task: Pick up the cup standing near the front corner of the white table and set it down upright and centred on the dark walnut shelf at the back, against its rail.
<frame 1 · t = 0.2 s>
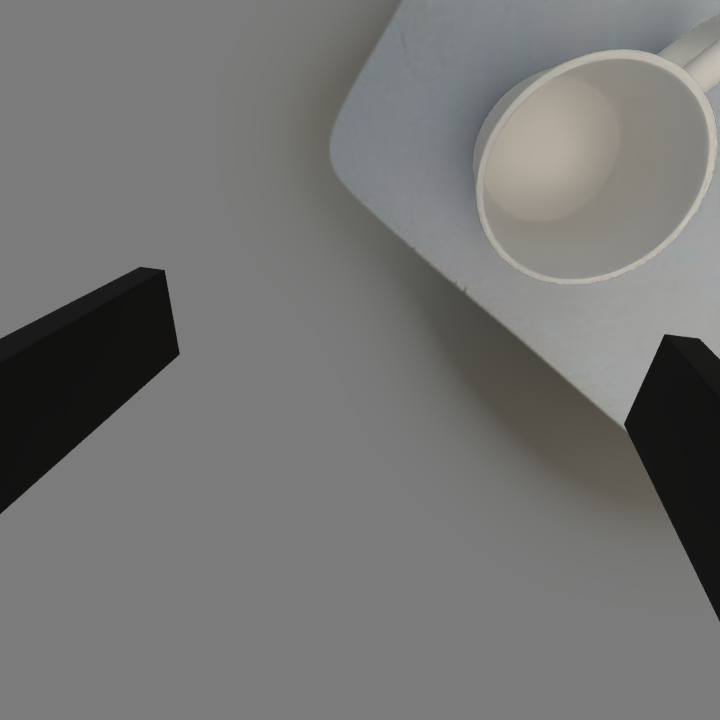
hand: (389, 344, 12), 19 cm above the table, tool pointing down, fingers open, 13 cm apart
cup: (576, 128, 25), on the table
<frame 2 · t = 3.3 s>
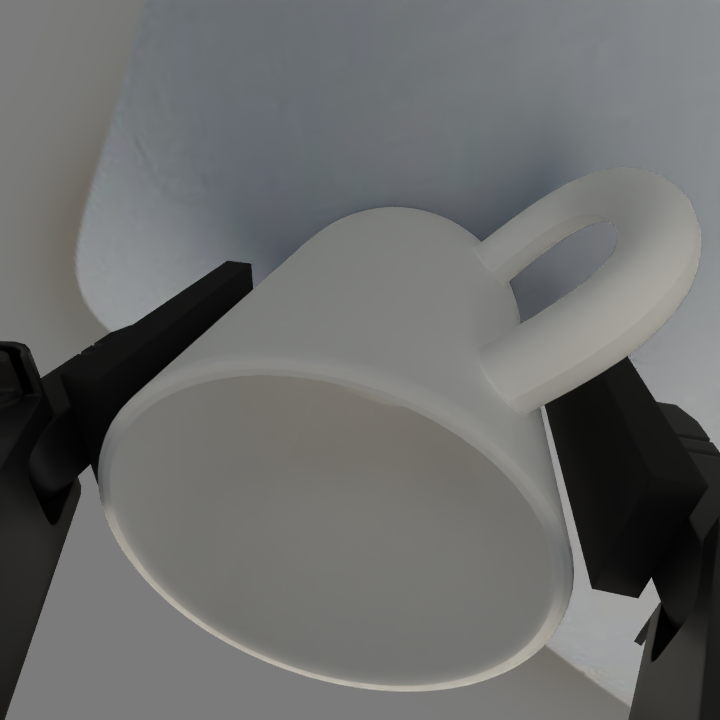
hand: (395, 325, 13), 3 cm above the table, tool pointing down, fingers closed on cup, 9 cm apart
cup: (435, 285, 16), on the table, touching gripper
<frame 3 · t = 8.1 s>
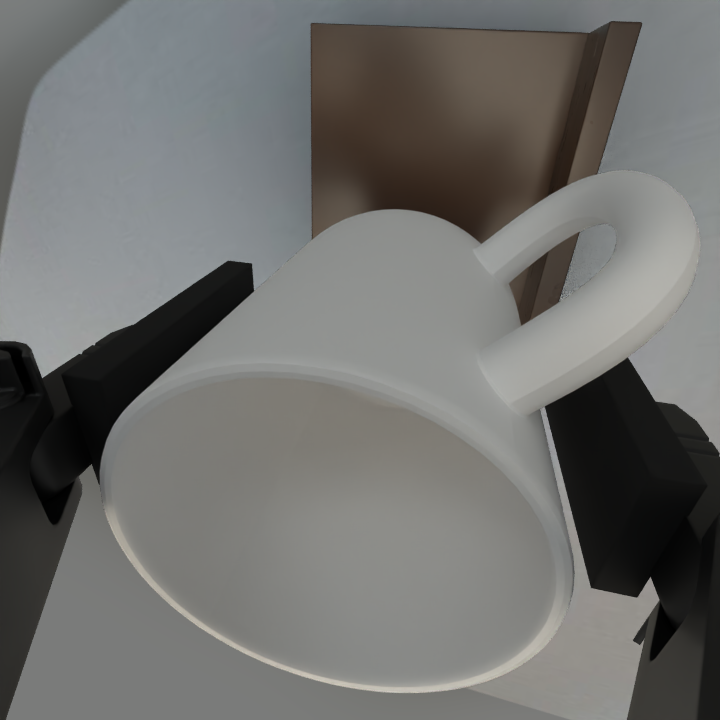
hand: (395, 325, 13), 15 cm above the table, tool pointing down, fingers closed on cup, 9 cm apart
shelf: (435, 209, 26), on the table
cup: (435, 286, 16), point 12 cm above the table, touching gripper
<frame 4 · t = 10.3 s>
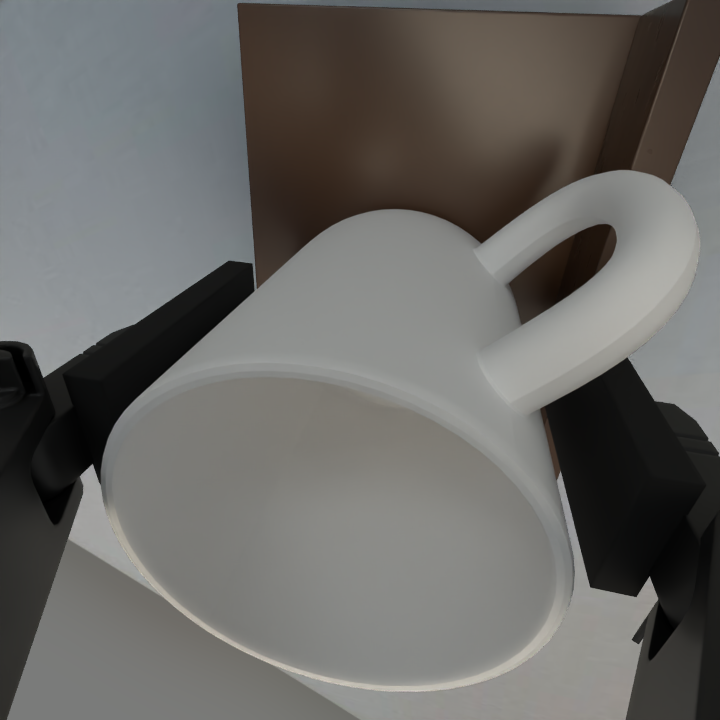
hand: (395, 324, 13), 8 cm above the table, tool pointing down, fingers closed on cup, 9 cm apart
shelf: (422, 248, 20), on the table
cup: (435, 286, 16), point 5 cm above the table, touching gripper
when the fingers open (8 cm above the table, at t = 13.4 s): cup stays where it is, resting on shelf.
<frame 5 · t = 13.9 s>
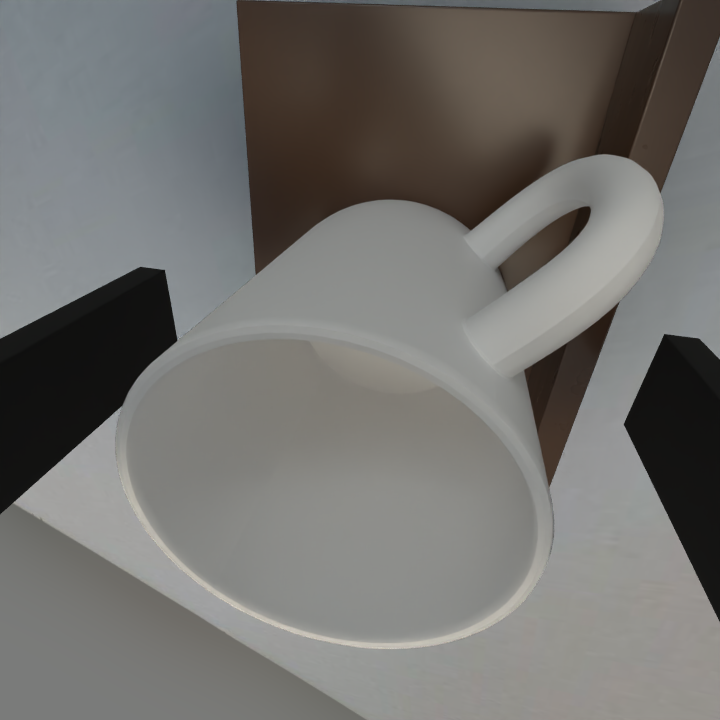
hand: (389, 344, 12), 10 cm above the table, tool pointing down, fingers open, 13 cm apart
shelf: (420, 244, 21), on the table
cup: (429, 274, 16), point 5 cm above the table, touching shelf
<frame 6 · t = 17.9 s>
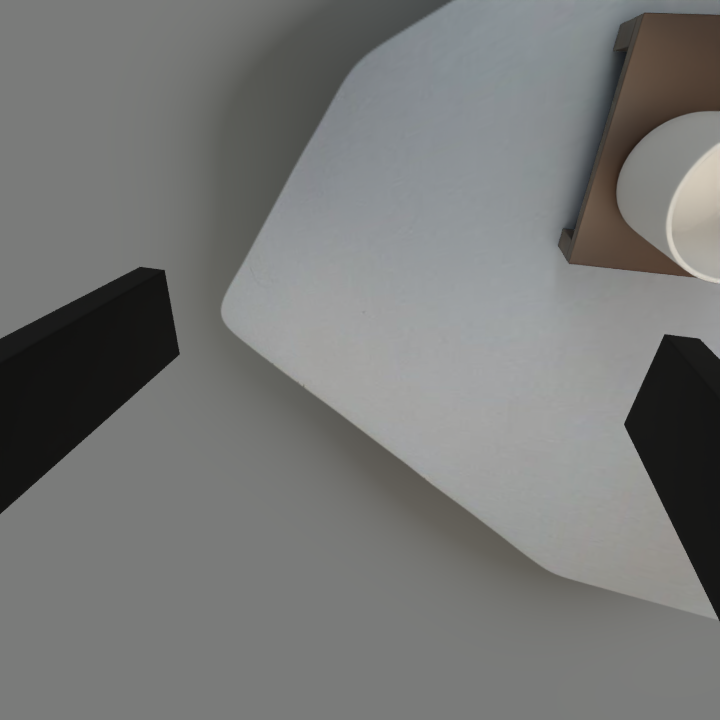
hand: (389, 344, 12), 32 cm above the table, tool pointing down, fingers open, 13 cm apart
shelf: (666, 153, 35), on the table
cup: (705, 157, 31), point 5 cm above the table, touching shelf
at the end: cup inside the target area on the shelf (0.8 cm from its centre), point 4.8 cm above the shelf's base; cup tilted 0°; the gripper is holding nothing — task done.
